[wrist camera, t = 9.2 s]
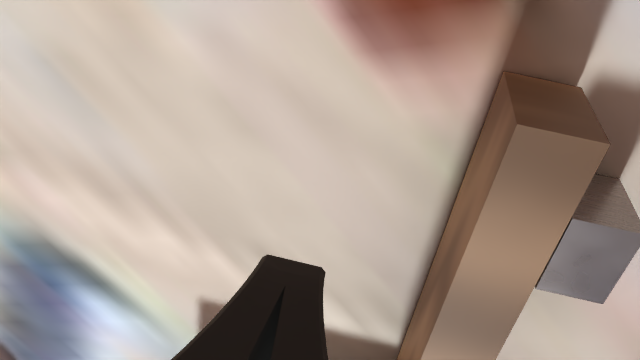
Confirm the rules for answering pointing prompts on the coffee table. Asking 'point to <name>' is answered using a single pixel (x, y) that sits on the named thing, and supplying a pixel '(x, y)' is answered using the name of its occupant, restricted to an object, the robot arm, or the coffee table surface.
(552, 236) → the folding leg
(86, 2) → the coffee table surface
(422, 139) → the coffee table surface
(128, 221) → the coffee table surface
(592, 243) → the leg catch
